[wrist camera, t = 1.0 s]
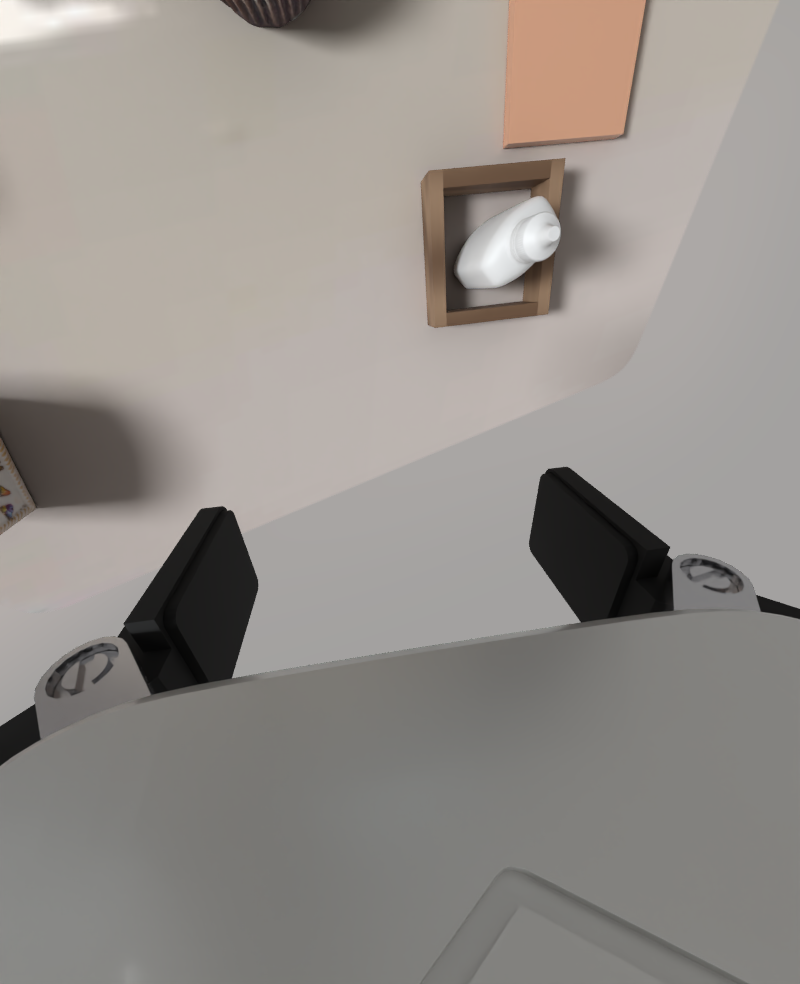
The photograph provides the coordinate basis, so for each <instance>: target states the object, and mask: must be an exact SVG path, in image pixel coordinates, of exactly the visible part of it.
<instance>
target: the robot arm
mask: <svg viewBox="0 0 800 984" xmlns="http://www.w3.org/2000/svg"><path fill="white" fill-rule="evenodd" d="M529 547H530V550H531V552H532V554H533V555H534V557H535V558H536V560H537V561H538V563H539V564H540V565H541V567H542V568H543V569H544V571H545V572H546V574H547V575H548V577H549V578H550V579H551V581H552V582H553V584H554V585H555V586H556V588H557V589H558V591H559V592H560V593H561V595H562V596H563V598H564V599H565V600H566V602H567V603H568V605H569V606H570V607H571V609H572V610H573V611H574V613H575V614H576V616H577V617H578V619H579V620H580V621H581V623H576V624H569V625H562V626H555V627H549V628H542V629H536V630H530V631H522V632H516V633H509V634H503V635H496V636H490V637H483V638H477V639H470V640H464V641H458V642H451V643H445V644H439V645H432V646H426V647H420V648H413V649H407V650H401V651H394V652H388V653H382V654H375V655H369V656H364V657H357V658H351V659H345V660H339V661H332V662H326V663H321V664H314V665H308V666H302V667H296V668H290V669H284V670H278V671H272V672H265V673H260V674H254V675H249V676H244V677H238V678H232V676H233V672H234V669H235V665H236V662H237V659H238V655H239V652H240V649H241V645H242V642H243V638H244V635H245V632H246V628H247V625H248V622H249V618H250V615H251V611H252V608H253V604H254V601H255V598H256V595H257V591H258V579H257V576H256V573H255V570H254V568H253V565H252V562H251V560H250V557H249V554H248V551H247V548H246V545H245V543H244V540H243V537H242V534H241V532H240V529H239V526H238V523H237V521H236V518H235V515H234V513H233V512H232V511H231V510H229V511H227V509H226V508H225V507H223V506H221V507H212V508H204V509H201V510H200V511H199V512H198V514H197V515H196V517H195V518H194V520H193V521H192V523H191V524H190V526H189V527H188V529H187V530H186V532H185V533H184V535H183V536H182V538H181V539H180V540H179V542H178V543H177V545H176V546H175V548H174V549H173V551H172V552H171V554H170V555H169V557H168V558H167V560H166V561H165V563H164V564H163V566H162V567H161V569H160V570H159V572H158V573H157V575H156V576H155V578H154V579H153V581H152V582H151V584H150V585H149V587H148V588H147V590H146V591H145V593H144V594H143V596H142V597H141V599H140V600H139V602H138V603H137V605H136V606H135V608H134V609H133V611H132V612H131V614H130V615H129V617H128V618H127V619H126V621H125V622H124V625H125V627H124V628H123V630H122V631H121V633H120V634H119V636H118V637H114V636H113V637H102V638H99V639H96V640H92V641H90V642H87V643H85V644H83V645H81V646H79V647H77V648H75V649H74V650H72V651H70V652H69V653H67V654H66V655H64V656H63V657H62V658H61V659H59V660H58V661H57V662H56V663H54V664H53V665H52V666H51V667H50V668H49V669H48V670H47V672H46V673H45V674H44V675H43V676H42V677H41V679H40V681H39V683H38V685H37V686H36V688H35V695H34V700H35V704H34V705H33V706H31V707H30V708H28V709H27V710H25V711H23V712H22V713H20V714H19V715H17V716H16V717H14V718H12V719H11V720H9V721H8V722H6V723H5V724H3V725H2V726H0V984H800V609H798V608H795V607H792V606H789V605H786V604H783V603H780V602H776V601H773V600H770V599H767V598H764V597H761V596H758V595H756V594H755V591H754V587H753V585H752V583H751V582H750V580H749V579H748V578H747V577H746V576H745V575H744V574H743V573H742V572H741V571H739V570H737V569H736V568H734V567H733V566H731V565H729V564H727V563H725V562H723V561H721V560H718V559H715V558H712V557H708V556H704V555H698V554H684V555H679V556H677V557H676V558H675V559H673V560H672V559H671V558H670V557H669V556H667V553H668V551H669V549H670V547H669V546H668V545H667V544H666V543H664V542H663V541H662V540H661V539H659V538H658V537H657V536H655V535H654V534H653V533H651V532H650V531H649V530H648V529H647V528H645V527H644V526H643V525H641V524H640V523H639V522H638V521H636V520H635V519H634V518H633V517H631V516H630V515H629V514H627V513H626V512H625V511H624V510H622V509H621V508H620V507H619V506H617V505H616V504H615V503H613V502H612V501H611V500H610V499H608V498H607V497H606V496H605V495H603V494H602V493H601V492H599V491H598V490H597V489H596V488H594V487H593V486H592V485H591V484H589V483H588V482H587V481H585V480H584V479H583V478H582V477H580V476H579V475H578V474H577V473H575V472H574V471H573V470H571V469H570V468H568V467H561V468H552V469H548V470H547V471H546V473H545V474H543V475H542V476H541V477H540V482H539V488H538V494H537V499H536V505H535V511H534V517H533V523H532V528H531V534H530V540H529Z"/></svg>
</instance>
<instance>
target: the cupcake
mask: <svg viewBox="0 0 800 984" xmlns="http://www.w3.org/2000/svg"><path fill="white" fill-rule="evenodd" d="M221 1H222V2H224V3H225V4H226V5H227V6H229V7H231V8H232V9H233V11H234V12H235V13H236V14H238V15H239V16H240V17H242V18H243V19H244V20H245V21H247V22H248V23H249V24H252V25H255V26H258V27H282V26H284V25H286V24H287V23H288V22H289V21H292V20H295V19H296V18H297V17H298V16H299V15H300V14H301V13H302V12H303V11H304V10H305V8H306V6H307V5H308V3H309V1H310V0H221Z"/></svg>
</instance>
